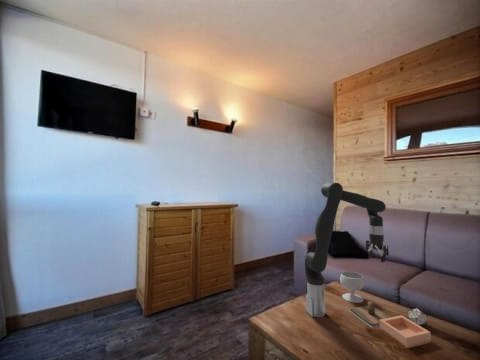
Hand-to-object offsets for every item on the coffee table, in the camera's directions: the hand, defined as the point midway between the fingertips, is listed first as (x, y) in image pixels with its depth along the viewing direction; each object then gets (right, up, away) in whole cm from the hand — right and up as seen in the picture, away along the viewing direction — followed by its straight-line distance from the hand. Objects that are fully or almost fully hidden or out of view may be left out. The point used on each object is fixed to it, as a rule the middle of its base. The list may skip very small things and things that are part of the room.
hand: (376, 259), depth 136 cm
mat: (-11, -26, -13) cm, 31 cm away
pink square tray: (-5, -26, -29) cm, 39 cm away
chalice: (-12, -27, +6) cm, 30 cm away
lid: (-11, -26, -13) cm, 31 cm away
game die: (+8, -26, -21) cm, 34 cm away
